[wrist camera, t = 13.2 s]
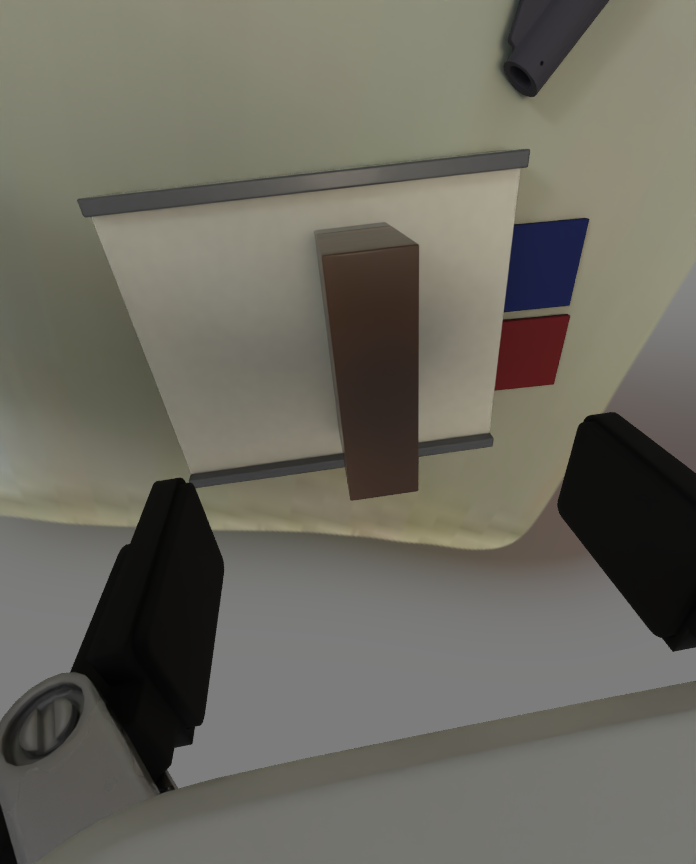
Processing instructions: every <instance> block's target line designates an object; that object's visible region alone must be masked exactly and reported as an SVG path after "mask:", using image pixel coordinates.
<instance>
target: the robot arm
mask: <svg viewBox="0 0 696 864" xmlns="http://www.w3.org/2000/svg"><path fill="white" fill-rule="evenodd" d="M557 505H558V511H559V513H560V515H561V517H562V518H563V519H564V521H565V522H566V523H567V524H568V526H569V527H570V528H571V530H572V531H573V532H574V533H575V535H576V536H577V537H578V538H579V540H580V541H581V542H582V544H583V545H584V546H585V548H586V549H587V550H588V551H589V553H590V554H591V555H592V557H593V558H594V559H595V560H596V562H597V563H598V564H599V566H600V567H601V568H602V569H603V571H604V572H605V573H606V575H607V576H608V577H609V578H610V580H611V581H612V582H613V583H614V585H615V586H616V587H617V589H618V590H619V591H620V592H621V593H622V595H623V596H624V598H625V599H626V600H627V601H628V603H629V604H630V605H631V607H632V608H633V609H634V610H635V612H636V613H637V614H638V616H640V618H641V619H642V621H643V622H644V623H645V625H646V626H647V627H648V628H649V630H650V631H651V632H652V633H653V634H654V635H656V636H658V637H660V638H662V639H663V640H664V641H665V642H666V644H667V645H668V646H669V647H670V649H671V650H672V651H673V652H674V651H679V650H683V649H689V648H694V647H696V473H694V472H693V471H692V470H691V469H689V468H688V467H687V466H686V465H684V464H683V463H682V462H680V461H679V460H678V459H676V458H675V457H674V456H672V455H671V454H670V453H668V452H667V451H666V450H665V449H663V448H662V447H661V446H659V445H658V444H657V443H655V442H654V441H653V440H651V439H650V438H649V437H648V436H646V435H645V434H644V433H642V432H641V431H640V430H638V429H637V428H636V427H634V426H633V425H632V424H630V423H629V422H628V421H627V420H625V419H624V418H623V417H621V416H620V415H619V414H617V413H615V412H609V413H602V414H596V415H590V416H587V417H586V418H585V419H584V422H583V423H581V424H580V425H579V426H578V429H577V432H576V436H575V440H574V443H573V447H572V451H571V455H570V458H569V462H568V466H567V469H566V473H565V477H564V480H563V484H562V488H561V491H560V495H559V499H558V504H557ZM223 576H224V562H223V558H222V555H221V553H220V550H219V548H218V545H217V542H216V540H215V537H214V535H213V532H212V530H211V527H210V525H209V522H208V520H207V517H206V514H205V512H204V509H203V507H202V504H201V502H200V499H199V497H198V494H197V492H196V489H195V487H194V485H193V484H192V483H186V482H185V481H184V479H183V478H175V479H169V480H162V481H156V482H155V483H154V484H153V486H152V489H151V491H150V494H149V497H148V499H147V502H146V504H145V507H144V509H143V512H142V515H141V517H140V520H139V522H138V525H137V527H136V530H135V533H134V535H133V538H132V540H131V543H130V544H128V545H125V546H124V547H123V548H122V549H121V550H120V552H119V554H118V556H117V559H116V561H115V564H114V566H113V568H112V571H111V573H110V576H109V578H108V581H107V583H106V586H105V588H104V591H103V593H102V595H101V598H100V600H99V603H98V605H97V608H96V610H95V613H94V615H93V618H92V620H91V623H90V625H89V628H88V630H87V632H86V635H85V637H84V640H83V642H82V645H81V647H80V649H79V652H78V655H77V657H76V659H75V662H74V664H73V667H72V669H71V672H70V673H61V674H58V675H55V676H53V677H50V678H48V679H46V680H44V681H42V682H40V683H39V684H37V685H36V686H34V687H32V688H31V689H30V690H28V691H27V692H26V693H25V694H24V695H23V696H22V697H21V698H19V699H18V700H17V701H16V702H15V703H14V704H13V706H12V707H11V708H10V709H9V710H8V712H7V713H6V714H5V715H4V717H3V718H2V720H1V722H0V864H696V681H693V682H687V683H683V684H677V685H672V686H667V687H662V688H656V689H652V690H646V691H641V692H636V693H631V694H625V695H620V696H615V697H610V698H604V699H600V700H594V701H589V702H584V703H579V704H575V705H569V706H564V707H559V708H554V709H549V710H544V711H539V712H533V713H528V714H524V715H518V716H514V717H508V718H504V719H498V720H494V721H488V722H483V723H478V724H473V725H468V726H463V727H458V728H453V729H448V730H443V731H438V732H433V733H428V734H423V735H418V736H413V737H408V738H404V739H399V740H394V741H389V742H384V743H379V744H374V745H369V746H364V747H360V748H354V749H349V750H345V751H340V752H335V753H330V754H325V755H320V756H315V757H310V758H305V759H301V760H296V761H292V762H287V763H283V764H278V765H274V766H269V767H265V768H260V769H256V770H252V771H247V772H242V773H238V774H234V775H229V776H224V777H220V778H215V779H212V780H208V781H204V782H200V783H197V784H193V785H190V786H186V787H183V788H179V789H178V787H177V786H176V784H175V782H174V781H173V779H172V777H171V776H170V774H169V772H168V771H167V769H168V768H169V766H170V765H171V763H172V758H173V752H174V748H175V747H181V746H186V745H191V744H192V743H193V736H194V729H195V726H200V725H201V724H202V723H203V719H204V716H205V709H206V702H207V694H208V687H209V679H210V672H211V665H212V658H213V650H214V642H215V635H216V628H217V621H218V612H219V606H220V598H221V591H222V584H223Z"/></svg>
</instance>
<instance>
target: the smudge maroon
mask: <svg viewBox="0 0 696 864" xmlns="http://www.w3.org/2000/svg"><path fill="white" fill-rule="evenodd" d="M569 319H570V315H568V314H564V315H553V316H543V317H532V318H522V319H512V320H503V321H502V330H501V338H500V347H499V355H498V364H497V372H496V380H495V389H494V391H495V390H504V389H514V388H523V387H533V386H542V385H552V384H554V381H555V377H556V373H557V369H558V365H559V360H560V356H561V352H562V348H563V344H564V340H565V335H566V331H567V327H568V323H569Z"/></svg>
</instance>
